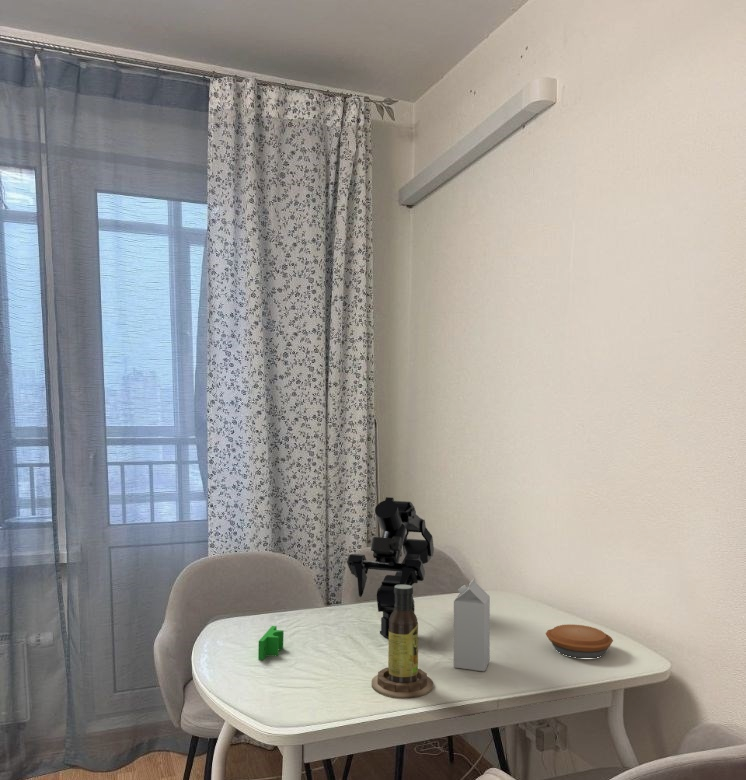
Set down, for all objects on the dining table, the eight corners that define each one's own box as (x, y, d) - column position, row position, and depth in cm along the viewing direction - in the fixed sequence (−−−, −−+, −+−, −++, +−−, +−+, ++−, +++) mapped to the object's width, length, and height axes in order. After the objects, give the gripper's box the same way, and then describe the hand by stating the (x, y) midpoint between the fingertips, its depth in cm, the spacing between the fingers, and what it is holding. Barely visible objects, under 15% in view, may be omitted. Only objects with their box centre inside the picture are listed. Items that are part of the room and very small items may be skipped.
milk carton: (489, 661, 152) (489, 578, 153) (484, 672, 145) (484, 586, 146) (459, 657, 154) (459, 576, 155) (453, 668, 147) (453, 583, 148)
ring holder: (413, 669, 147) (413, 660, 147) (445, 691, 135) (445, 681, 135) (361, 679, 141) (361, 669, 141) (389, 703, 129) (390, 692, 129)
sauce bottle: (419, 687, 135) (420, 590, 136) (389, 688, 135) (390, 590, 135) (415, 675, 141) (416, 582, 142) (386, 676, 141) (387, 582, 142)
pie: (626, 655, 157) (626, 634, 157) (582, 668, 148) (582, 645, 149) (575, 636, 170) (575, 617, 170) (532, 647, 162) (532, 626, 162)
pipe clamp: (273, 661, 151) (274, 641, 151) (258, 661, 151) (258, 641, 151) (286, 644, 162) (286, 626, 162) (271, 643, 162) (272, 625, 163)
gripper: (349, 521, 164) (333, 575, 153) (422, 525, 158) (410, 582, 147) (359, 547, 171) (344, 601, 160) (429, 552, 165) (418, 608, 154)
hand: (378, 597), depth 155 cm, fingers open, 9 cm apart
